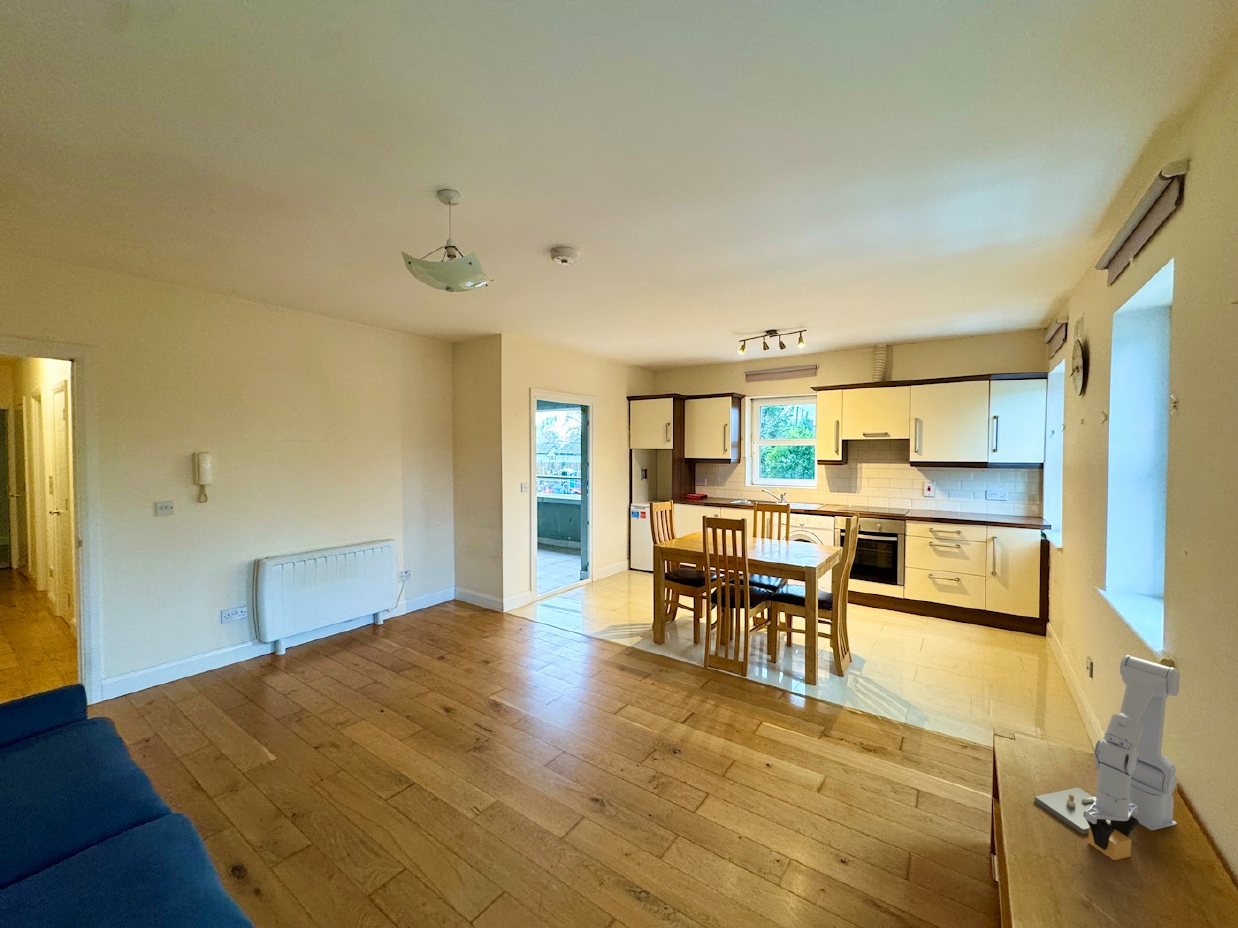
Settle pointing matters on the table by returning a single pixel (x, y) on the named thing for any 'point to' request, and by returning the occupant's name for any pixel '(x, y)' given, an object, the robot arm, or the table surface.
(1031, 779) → the table surface
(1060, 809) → the flat gray rectangular board
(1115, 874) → the table surface
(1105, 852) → the light wooden brick
